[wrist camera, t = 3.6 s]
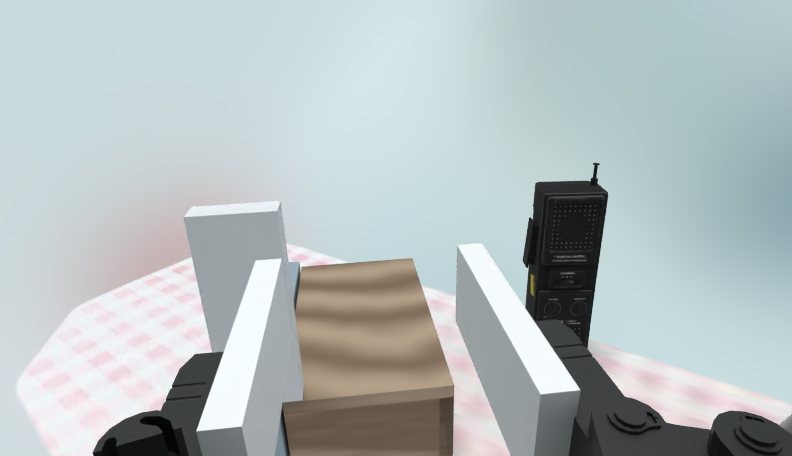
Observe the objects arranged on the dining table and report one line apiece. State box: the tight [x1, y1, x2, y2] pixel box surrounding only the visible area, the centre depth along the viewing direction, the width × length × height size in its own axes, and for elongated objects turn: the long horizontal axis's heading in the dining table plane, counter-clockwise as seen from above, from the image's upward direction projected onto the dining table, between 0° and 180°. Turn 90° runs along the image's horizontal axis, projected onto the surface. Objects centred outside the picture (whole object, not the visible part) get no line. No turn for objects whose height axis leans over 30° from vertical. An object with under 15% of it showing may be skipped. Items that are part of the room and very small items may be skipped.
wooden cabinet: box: [282, 258, 454, 456], centre depth 53 cm, size 24×14×12 cm, turn 7°
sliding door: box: [184, 201, 304, 456], centre depth 49 cm, size 25×6×28 cm, turn 7°
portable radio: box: [523, 163, 608, 348], centre depth 57 cm, size 8×6×25 cm
